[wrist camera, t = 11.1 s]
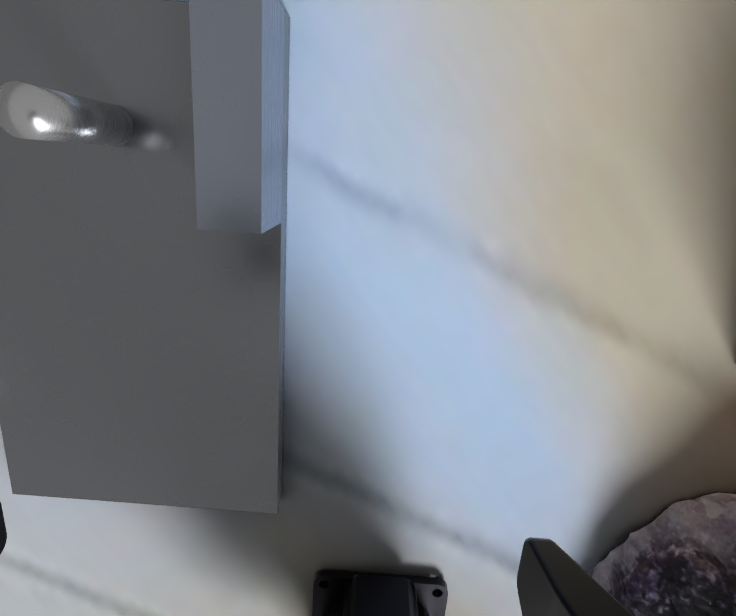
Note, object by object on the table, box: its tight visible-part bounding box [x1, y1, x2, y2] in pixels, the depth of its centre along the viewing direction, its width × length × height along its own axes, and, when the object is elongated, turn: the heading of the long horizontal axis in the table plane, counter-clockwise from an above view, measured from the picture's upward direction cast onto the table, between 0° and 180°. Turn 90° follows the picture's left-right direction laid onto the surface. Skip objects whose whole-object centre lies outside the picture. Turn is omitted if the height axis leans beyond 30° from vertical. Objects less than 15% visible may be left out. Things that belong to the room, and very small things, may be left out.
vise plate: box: [0, 0, 290, 514], centre depth 17 cm, size 20×12×6 cm, turn 176°
